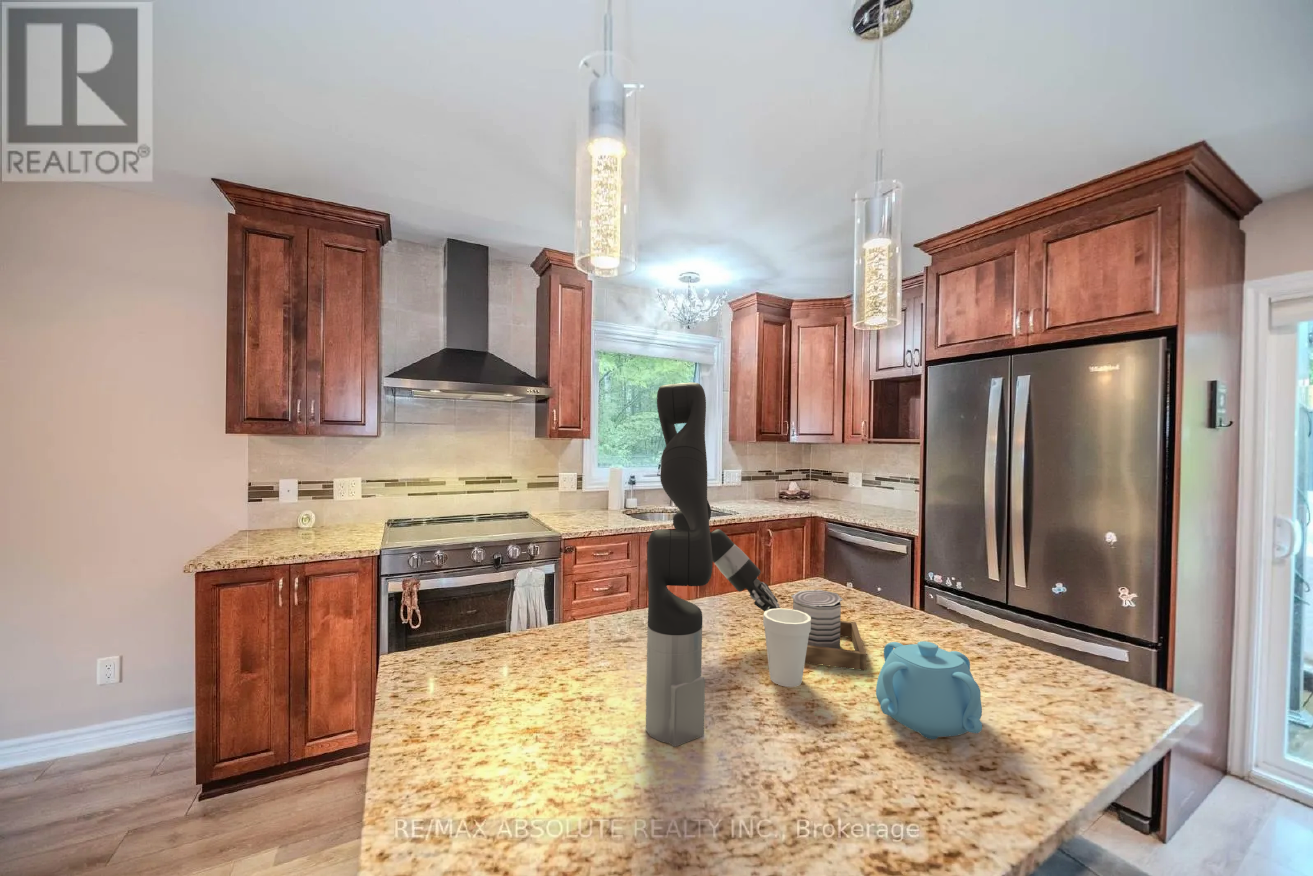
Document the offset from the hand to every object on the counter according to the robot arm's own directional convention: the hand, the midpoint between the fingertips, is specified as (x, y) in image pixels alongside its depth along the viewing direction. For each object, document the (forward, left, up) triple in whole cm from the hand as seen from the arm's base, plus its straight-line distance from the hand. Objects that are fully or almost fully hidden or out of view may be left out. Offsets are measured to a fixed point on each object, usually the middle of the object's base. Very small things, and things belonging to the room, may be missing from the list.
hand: (786, 622), depth 123 cm
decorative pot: (-37, +6, -5) cm, 38 cm away
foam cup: (-13, +15, -5) cm, 21 cm away
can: (-5, -5, -5) cm, 8 cm away
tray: (-5, -4, -5) cm, 8 cm away
